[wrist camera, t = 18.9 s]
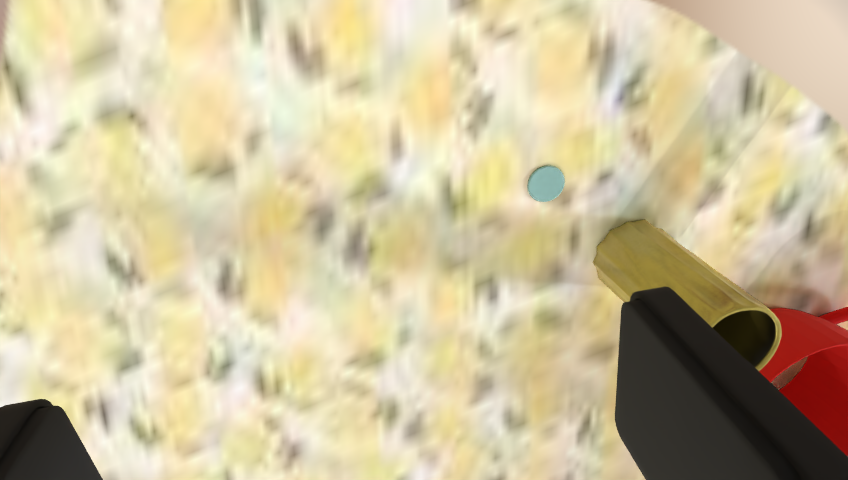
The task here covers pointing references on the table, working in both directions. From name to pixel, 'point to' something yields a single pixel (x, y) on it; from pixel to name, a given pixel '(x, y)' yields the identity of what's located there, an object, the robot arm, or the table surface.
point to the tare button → (546, 183)
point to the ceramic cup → (815, 369)
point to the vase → (687, 287)
